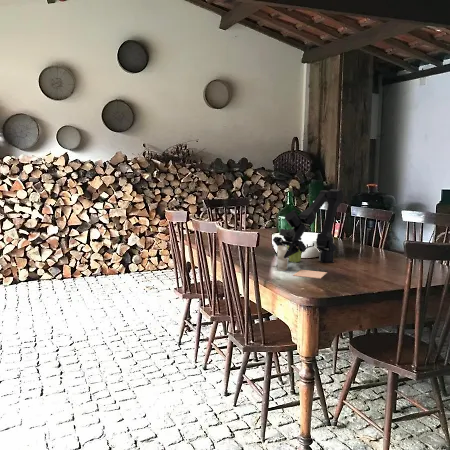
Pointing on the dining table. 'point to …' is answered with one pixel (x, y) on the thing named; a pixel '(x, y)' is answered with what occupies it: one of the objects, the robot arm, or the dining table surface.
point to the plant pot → (295, 256)
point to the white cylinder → (281, 258)
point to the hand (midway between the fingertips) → (280, 257)
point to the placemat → (310, 274)
